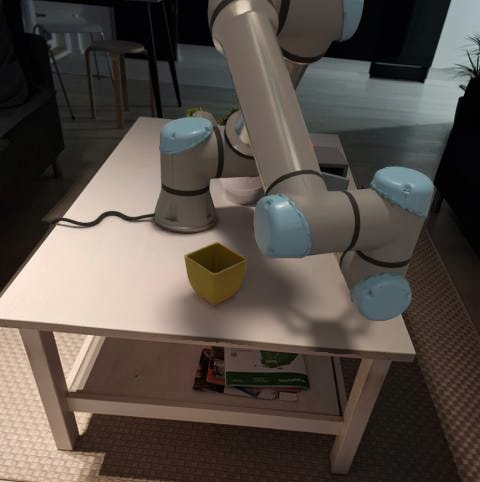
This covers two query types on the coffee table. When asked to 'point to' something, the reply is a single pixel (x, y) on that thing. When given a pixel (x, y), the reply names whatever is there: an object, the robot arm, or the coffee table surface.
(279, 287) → the coffee table surface
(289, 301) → the coffee table surface
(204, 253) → the flower pot
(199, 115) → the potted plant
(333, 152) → the grey box
